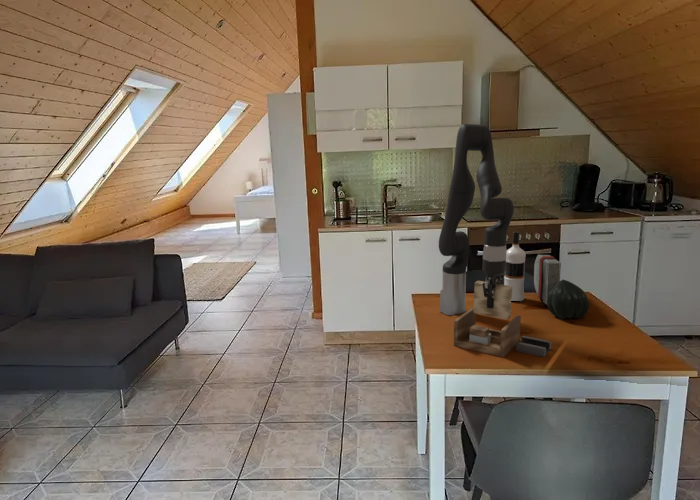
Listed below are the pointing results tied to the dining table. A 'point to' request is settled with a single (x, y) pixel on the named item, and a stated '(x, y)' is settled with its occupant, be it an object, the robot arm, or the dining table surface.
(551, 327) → the dining table surface
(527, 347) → the stand
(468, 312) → the rack
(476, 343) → the offcut
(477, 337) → the offcut
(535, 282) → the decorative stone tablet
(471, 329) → the offcut
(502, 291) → the beige rectangular slab
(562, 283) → the squash
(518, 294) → the vodka
